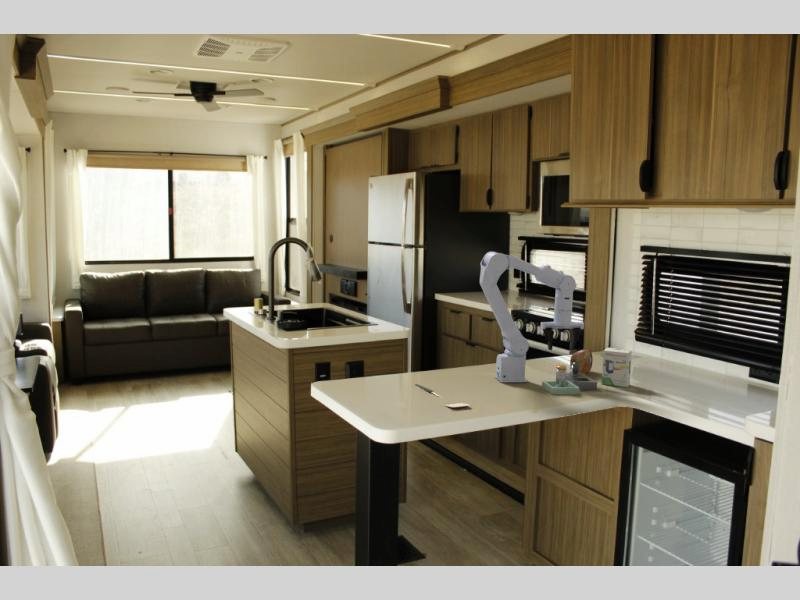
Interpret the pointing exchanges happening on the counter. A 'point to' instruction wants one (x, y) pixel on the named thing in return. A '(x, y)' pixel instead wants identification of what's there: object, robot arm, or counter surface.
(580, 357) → the tin
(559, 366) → the pin
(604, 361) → the ink box
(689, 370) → the counter surface
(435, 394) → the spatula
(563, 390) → the tray
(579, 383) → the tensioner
